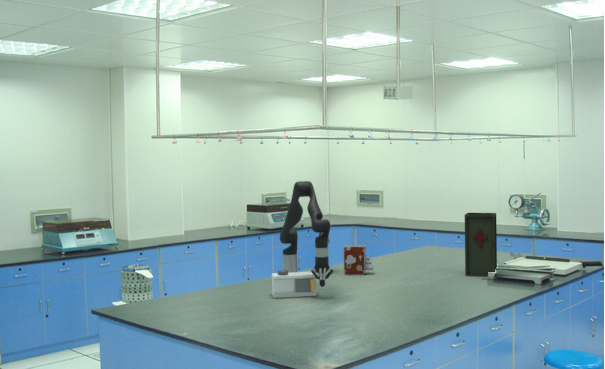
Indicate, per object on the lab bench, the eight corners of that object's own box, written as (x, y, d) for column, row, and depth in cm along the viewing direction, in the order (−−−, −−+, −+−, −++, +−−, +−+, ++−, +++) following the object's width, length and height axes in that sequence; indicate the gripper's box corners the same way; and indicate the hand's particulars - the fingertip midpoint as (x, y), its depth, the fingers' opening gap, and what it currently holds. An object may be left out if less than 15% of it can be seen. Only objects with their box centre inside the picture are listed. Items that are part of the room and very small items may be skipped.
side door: (295, 291, 313) (295, 279, 313) (312, 290, 315) (312, 278, 315) (296, 293, 308) (296, 280, 308) (314, 292, 310) (314, 280, 310)
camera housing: (272, 294, 321) (271, 270, 321) (313, 292, 325) (312, 268, 325) (274, 298, 310) (273, 273, 310) (316, 296, 314) (316, 271, 314)
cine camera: (372, 275, 372) (372, 245, 371) (343, 275, 376) (343, 245, 375) (373, 273, 381) (373, 244, 380) (345, 272, 385) (344, 243, 384)
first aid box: (465, 275, 365) (464, 214, 364) (468, 271, 382) (467, 212, 381) (495, 277, 358) (494, 215, 357) (497, 272, 375) (496, 212, 374)
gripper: (331, 254, 316) (332, 284, 316) (308, 255, 314) (309, 285, 314) (334, 255, 308) (335, 287, 309) (311, 257, 306) (311, 288, 307)
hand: (322, 286), depth 311 cm, fingers closed
